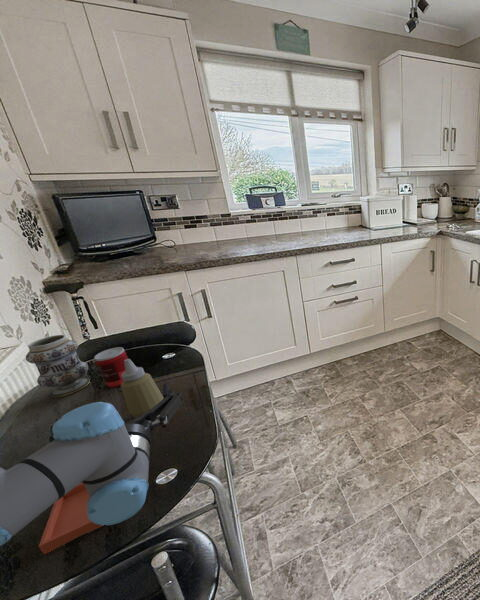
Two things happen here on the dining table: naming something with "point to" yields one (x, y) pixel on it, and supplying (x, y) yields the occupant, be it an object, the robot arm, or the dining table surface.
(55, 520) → the tray
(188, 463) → the dining table surface
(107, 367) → the canned food
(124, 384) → the squeeze bottle
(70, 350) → the apothecary jar
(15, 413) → the dining table surface
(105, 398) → the dining table surface
